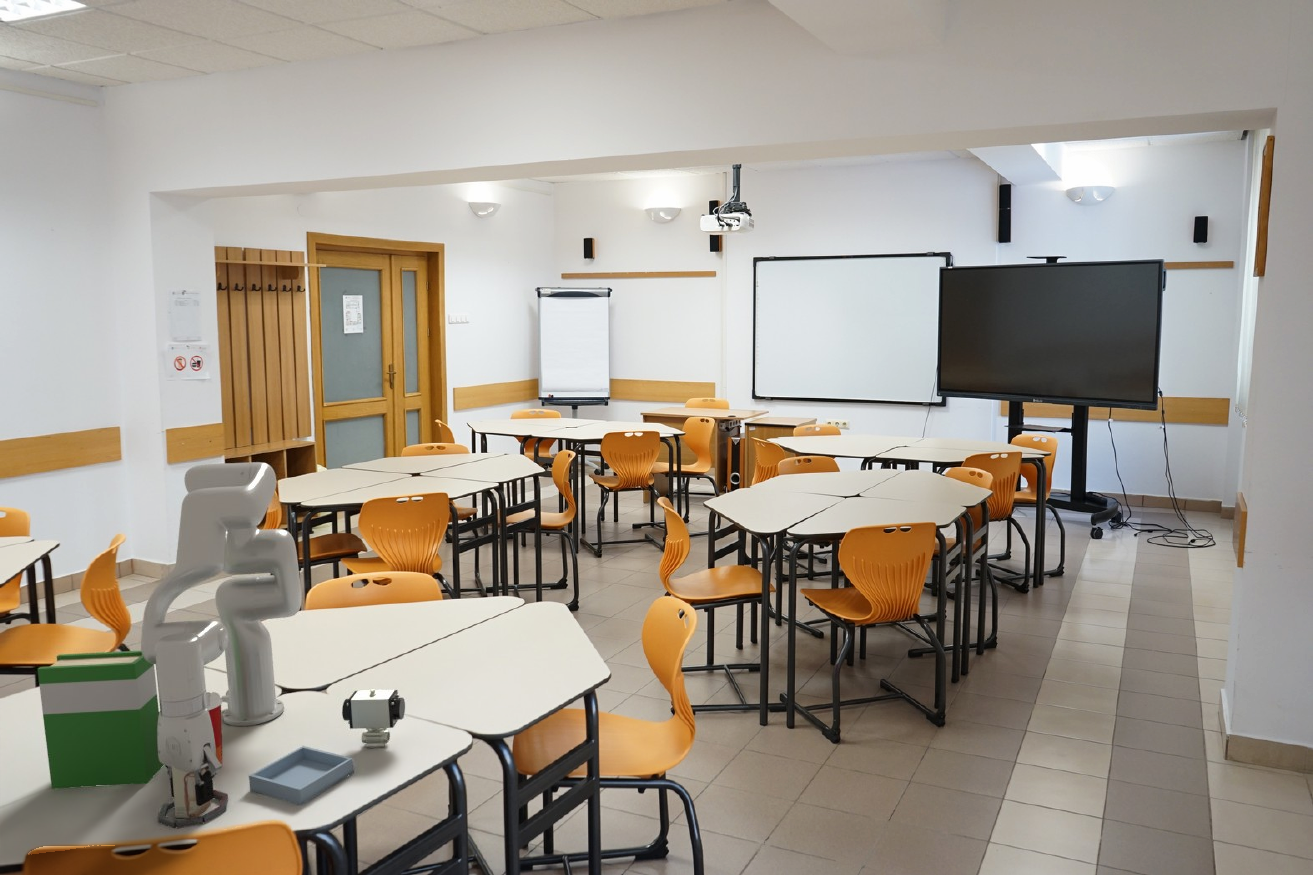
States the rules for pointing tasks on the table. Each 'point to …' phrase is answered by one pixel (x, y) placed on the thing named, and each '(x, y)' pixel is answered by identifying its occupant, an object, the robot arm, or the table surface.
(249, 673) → the robot arm
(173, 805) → the collar
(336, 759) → the tray
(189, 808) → the skincare box
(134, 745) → the hardback book
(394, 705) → the pneumatic valve
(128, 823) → the table surface
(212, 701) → the paper cup
